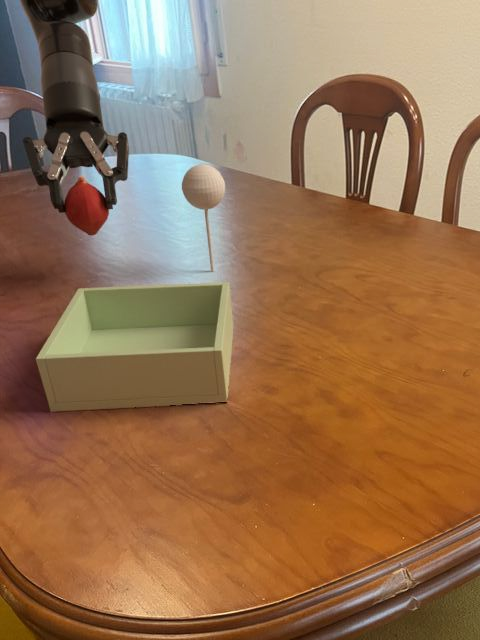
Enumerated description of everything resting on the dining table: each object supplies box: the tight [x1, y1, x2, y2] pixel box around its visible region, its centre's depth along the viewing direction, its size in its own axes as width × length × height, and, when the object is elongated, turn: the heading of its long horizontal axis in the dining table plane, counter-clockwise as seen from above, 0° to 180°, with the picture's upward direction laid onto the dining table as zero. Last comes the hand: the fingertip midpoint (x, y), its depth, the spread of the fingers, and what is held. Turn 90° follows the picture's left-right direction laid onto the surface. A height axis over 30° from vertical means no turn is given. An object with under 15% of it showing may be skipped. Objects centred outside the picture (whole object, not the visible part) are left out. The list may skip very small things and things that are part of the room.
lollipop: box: [181, 164, 226, 273], centre depth 94 cm, size 6×6×15 cm
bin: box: [35, 281, 234, 413], centre depth 72 cm, size 18×18×6 cm
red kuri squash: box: [64, 175, 110, 237], centre depth 90 cm, size 6×6×8 cm
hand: (85, 207), depth 89 cm, fingers closed on red kuri squash, 5 cm apart
